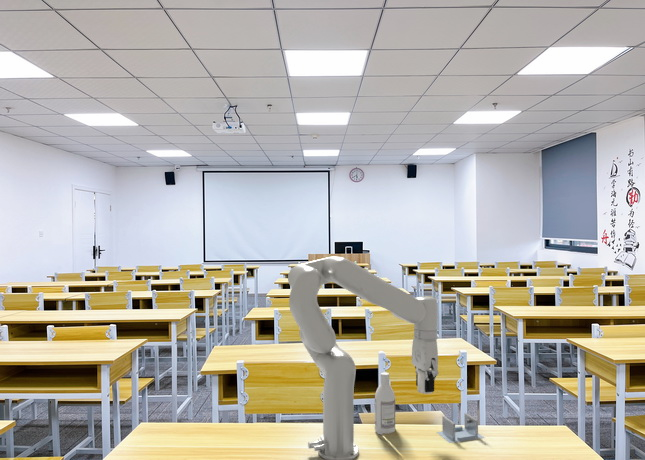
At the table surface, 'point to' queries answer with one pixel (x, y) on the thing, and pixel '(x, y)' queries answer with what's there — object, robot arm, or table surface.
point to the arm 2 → (471, 425)
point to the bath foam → (384, 407)
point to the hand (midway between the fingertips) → (425, 388)
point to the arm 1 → (448, 428)
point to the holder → (460, 435)
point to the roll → (422, 381)
